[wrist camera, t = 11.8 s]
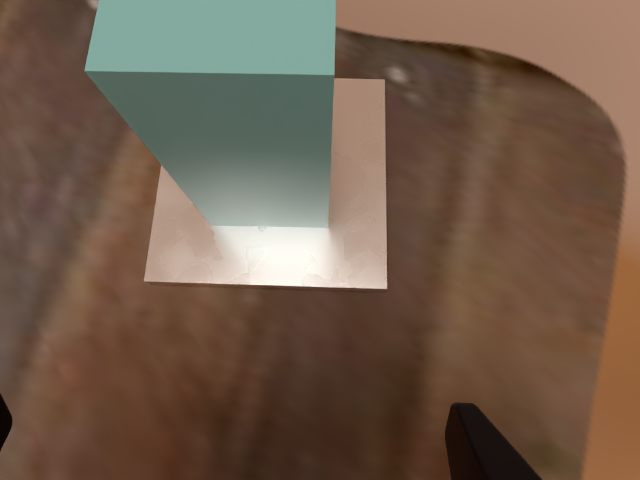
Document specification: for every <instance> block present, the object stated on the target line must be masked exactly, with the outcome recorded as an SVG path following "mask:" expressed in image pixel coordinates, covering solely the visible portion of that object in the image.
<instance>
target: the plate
mask: <svg viewBox="0 0 640 480" xmlns="http://www.w3.org/2000/svg"><path fill="white" fill-rule="evenodd" d="M144 282H147V283H149V284H151V285H171V286H203V287H235V288H266V289H298V290H330V291H362V292H385V291H386V290H387V236H386V148H385V80H381V79H340V78H334V97H333V121H332V144H331V168H330V192H329V216H328V228H308V227H258V226H211V225H210V224H209V222H208V221H207V220H206V219H205V218H204V216H203V215H202V214H201V213H200V211H199V210H198V209H197V208H196V207H195V205H194V204H193V203H192V202H191V200H190V199H189V198H188V197H187V196H186V194H185V193H184V192H183V191H182V189H181V188H180V187H179V186H178V185H177V183H176V182H175V181H174V180H173V179H172V177H171V176H170V175H169V174H168V172H167V171H166V170H165V169H164V168H163V166H162V165H161V171H160V177H159V184H158V191H157V198H156V204H155V211H154V218H153V224H152V231H151V238H150V244H149V251H148V258H147V265H146V271H145V278H144Z"/></svg>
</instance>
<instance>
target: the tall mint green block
mask: <svg viewBox="0 0 640 480" xmlns="http://www.w3.org/2000/svg"><path fill="white" fill-rule="evenodd" d="M335 5H336V0H99V3H98V8H97V13H96V18H95V23H94V28H93V32H92V37H91V42H90V47H89V52H88V56H87V61H86V66H85V72H86V73H87V75H88V76H89V77H90V78H91V80H92V81H93V82H94V83H95V84H96V86H97V87H98V88H99V89H100V91H101V92H102V93H103V94H104V95H105V97H106V98H107V99H108V100H109V102H110V103H111V104H112V105H113V106H114V108H115V109H116V110H117V111H118V113H119V114H120V115H121V116H122V117H123V119H124V120H125V121H126V122H127V124H128V125H129V126H130V127H131V128H132V130H133V131H134V132H135V133H136V135H137V136H138V137H139V138H140V139H141V141H142V142H143V143H144V144H145V146H146V147H147V148H148V149H149V150H150V152H151V153H152V154H153V155H154V157H155V158H156V159H157V160H158V161H159V163H160V164H161V165H162V166H163V168H164V169H165V170H166V171H167V172H168V174H169V175H170V176H171V177H172V179H173V180H174V181H175V182H176V183H177V185H178V186H179V187H180V188H181V189H182V191H183V192H184V193H185V194H186V196H187V197H188V198H189V199H190V200H191V202H192V203H193V204H194V205H195V207H196V208H197V209H198V210H199V211H200V213H201V214H202V215H203V216H204V218H205V219H206V220H207V221H208V222H209V224H210V225H211V226H258V227H308V228H328V216H329V192H330V168H331V144H332V121H333V97H334V70H335Z"/></svg>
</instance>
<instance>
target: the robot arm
mask: <svg viewBox="0 0 640 480" xmlns="http://www.w3.org/2000/svg"><path fill="white" fill-rule="evenodd" d="M11 427H12V415H11V413H10V411H9V409H8V407H7V405H6V403H5V401H4V399H3V397H2V395H1V394H0V451H1V448H2V446H3V444H4V442H5V440H6V438H7V436H8V434H9V432H10V430H11ZM445 442H446V448H447V454H448V461H449V467H450V473H451V479H452V480H542V479H541V477H540V476H539V475H538V474H537V473H536V472H535V471H534V470H533V468H532V467H531V466H530V465H529V464H528V463H527V462H526V461H525V460H524V458H523V457H522V456H521V455H520V454H519V453H518V452H517V451H516V450H515V448H514V447H513V446H512V445H511V444H510V443H509V442H508V441H507V439H506V438H505V437H504V436H503V435H502V434H501V433H500V432H499V431H498V429H497V428H496V427H495V426H494V425H493V424H492V423H491V422H490V421H489V419H488V418H487V417H486V416H485V415H484V414H483V413H482V412H481V410H480V409H479V408H478V407H477V406H476V405H474V404H472V403H453V404H452V406H451V408H450V412H449V416H448V421H447V425H446V429H445Z"/></svg>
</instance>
